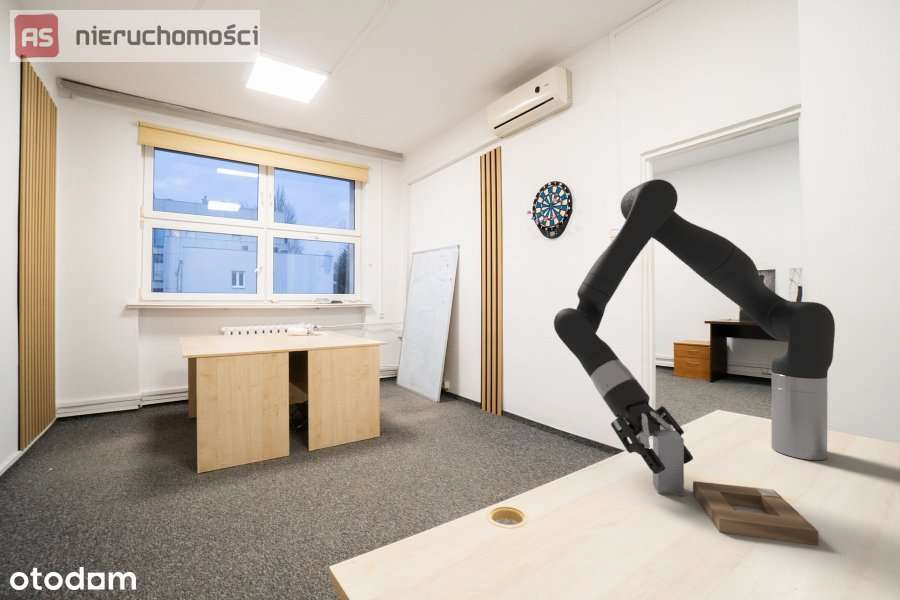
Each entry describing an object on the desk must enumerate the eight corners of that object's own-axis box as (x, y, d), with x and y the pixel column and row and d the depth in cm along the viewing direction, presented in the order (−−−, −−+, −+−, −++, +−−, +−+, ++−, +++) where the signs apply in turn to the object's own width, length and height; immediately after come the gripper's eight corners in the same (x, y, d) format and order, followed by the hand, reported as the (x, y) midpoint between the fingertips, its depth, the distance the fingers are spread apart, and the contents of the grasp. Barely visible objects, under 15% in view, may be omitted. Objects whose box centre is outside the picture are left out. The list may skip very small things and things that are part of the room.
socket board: (693, 492, 70) (693, 480, 70) (773, 501, 66) (773, 489, 66) (719, 531, 58) (719, 517, 58) (818, 545, 55) (818, 530, 55)
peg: (653, 483, 73) (652, 429, 73) (677, 485, 72) (677, 431, 72) (658, 493, 69) (658, 437, 69) (683, 496, 68) (683, 439, 68)
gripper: (605, 381, 73) (665, 466, 64) (653, 373, 80) (713, 448, 71) (583, 403, 78) (635, 485, 68) (630, 393, 85) (683, 467, 75)
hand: (675, 466), depth 69 cm, fingers open, 8 cm apart
